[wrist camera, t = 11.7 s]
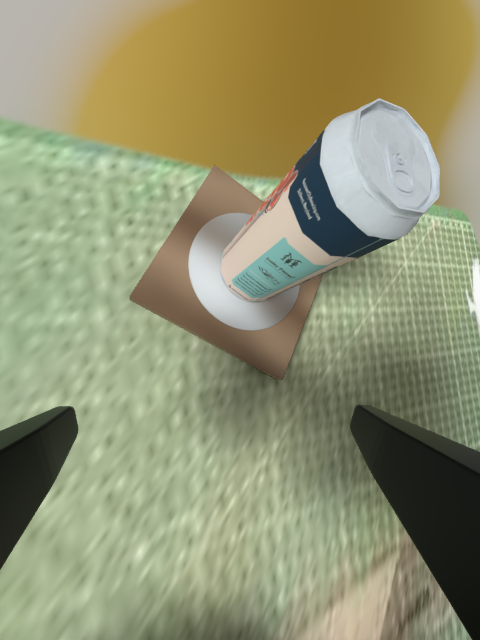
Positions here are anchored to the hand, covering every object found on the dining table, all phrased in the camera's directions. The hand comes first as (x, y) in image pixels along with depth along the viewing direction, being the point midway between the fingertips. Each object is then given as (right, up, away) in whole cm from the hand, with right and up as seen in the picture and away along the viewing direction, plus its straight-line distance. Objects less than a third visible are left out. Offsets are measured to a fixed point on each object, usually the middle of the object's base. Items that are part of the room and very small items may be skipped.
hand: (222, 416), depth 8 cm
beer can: (+1, +7, +11) cm, 13 cm away
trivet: (+1, +7, +12) cm, 14 cm away
